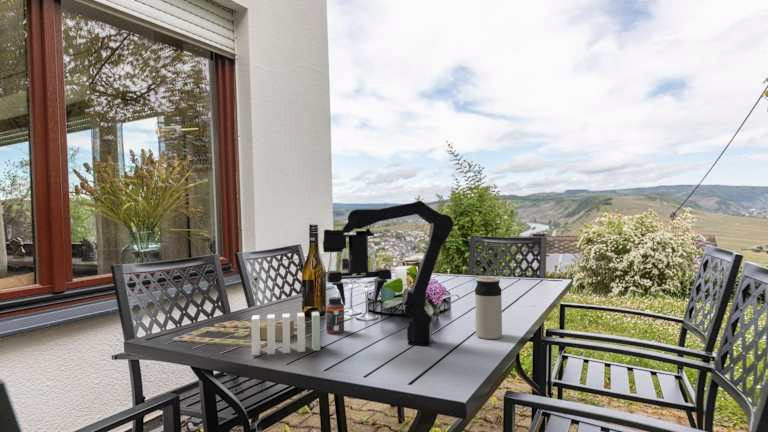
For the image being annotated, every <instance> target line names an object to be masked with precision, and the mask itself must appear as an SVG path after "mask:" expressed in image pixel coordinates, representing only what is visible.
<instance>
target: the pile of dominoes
mask: <svg viewBox="0 0 768 432" xmlns="http://www.w3.org/2000/svg"><path fill="white" fill-rule="evenodd" d="M294 322H295V320H294V319H293V318H290V338H291V337H293V336H294V335H295V331H297V323H296V324H294ZM305 328H307V325H306V323H305ZM206 333H220V334H221V333H223V334H232V335H233V338H235V339H233V338H218V337H217V338H214V337H212V338H211V337H201V336H202V335H203V334H206ZM247 337H249V340H247V339H245V340H244V339H243V338H247ZM236 338H239V339H236ZM240 338H241V339H240ZM250 339H251V340H250ZM172 340H173V341H172V342H179V341H187V342H186V343H194V342H195V343H194V344H205V345H219V346H229V347H230V346H232V347H242V348H243V347H245V348H252V338H251V321H246V320H243V321H238V320H229V321H224V322H219V323H215V324H214V325H213V327H212V326H205V327H202V328H200V329H197V330H194V331H191V332H188V333H185V334H182V335H179V336H176V337H173V338H172ZM275 341H282V342H283V326H282V319H280V320H278V321H276V320H275ZM266 346H267V320H260V349H261V348H264V347H266Z"/></svg>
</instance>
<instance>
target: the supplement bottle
mask: <svg viewBox="0 0 768 432" xmlns="http://www.w3.org/2000/svg"><path fill="white" fill-rule="evenodd" d="M325 321H326V322H325V325H326V326H325V328H326V333H328V334H333V335H335V334H341V333H342V334H343V332H344V331H345V305H343V302H342V299H341V296H331V297H329V298H328V303H327V304H326V305H325Z"/></svg>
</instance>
